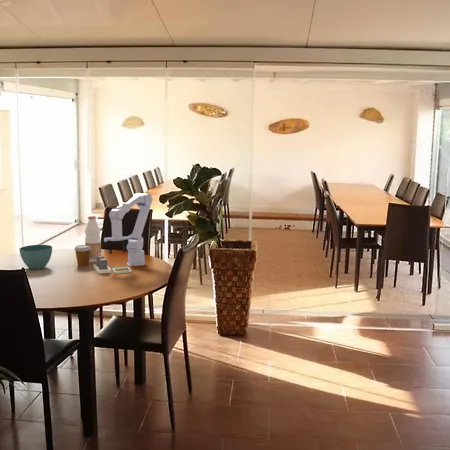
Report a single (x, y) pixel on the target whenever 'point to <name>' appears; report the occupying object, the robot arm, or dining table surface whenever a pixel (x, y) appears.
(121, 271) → the tray
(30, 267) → the teal bowl
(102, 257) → the twin plug
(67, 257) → the dining table surface
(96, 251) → the fruit juice
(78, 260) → the disposable coffee cup
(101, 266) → the plug
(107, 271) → the strip
